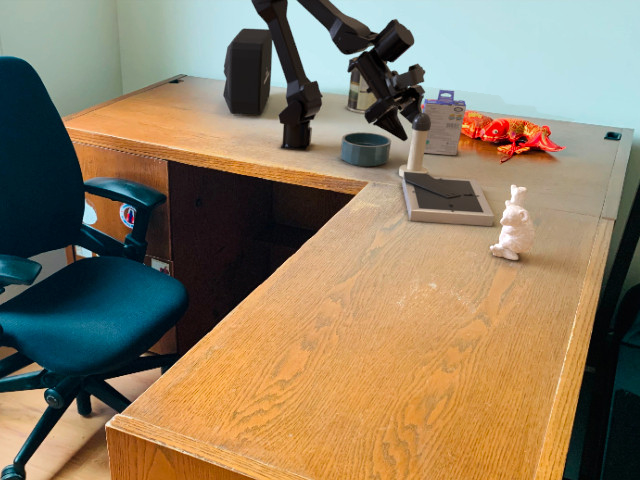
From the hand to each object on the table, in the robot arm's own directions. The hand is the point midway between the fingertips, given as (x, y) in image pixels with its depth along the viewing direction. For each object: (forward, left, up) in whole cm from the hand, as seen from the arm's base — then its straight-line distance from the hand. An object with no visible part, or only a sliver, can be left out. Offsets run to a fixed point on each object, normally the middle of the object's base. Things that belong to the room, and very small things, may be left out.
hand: (415, 135), depth 149 cm
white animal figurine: (+19, -38, -9) cm, 44 cm away
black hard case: (-51, +48, -9) cm, 70 cm away
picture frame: (+8, -16, -9) cm, 20 cm away
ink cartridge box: (+6, +20, -9) cm, 22 cm away
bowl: (-11, +7, -9) cm, 16 cm away
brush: (+1, 0, -9) cm, 9 cm away
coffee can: (-16, +56, -9) cm, 59 cm away
